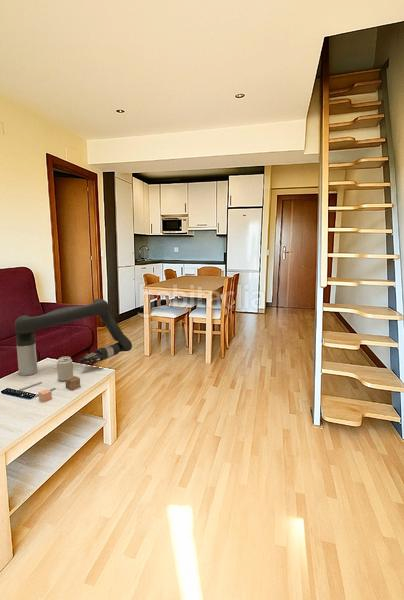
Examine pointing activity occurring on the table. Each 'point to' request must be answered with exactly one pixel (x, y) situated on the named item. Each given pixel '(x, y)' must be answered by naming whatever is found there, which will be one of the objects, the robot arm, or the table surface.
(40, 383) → the frame
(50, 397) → the clay block
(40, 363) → the table surface
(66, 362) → the can
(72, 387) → the walnut block
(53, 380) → the table surface
